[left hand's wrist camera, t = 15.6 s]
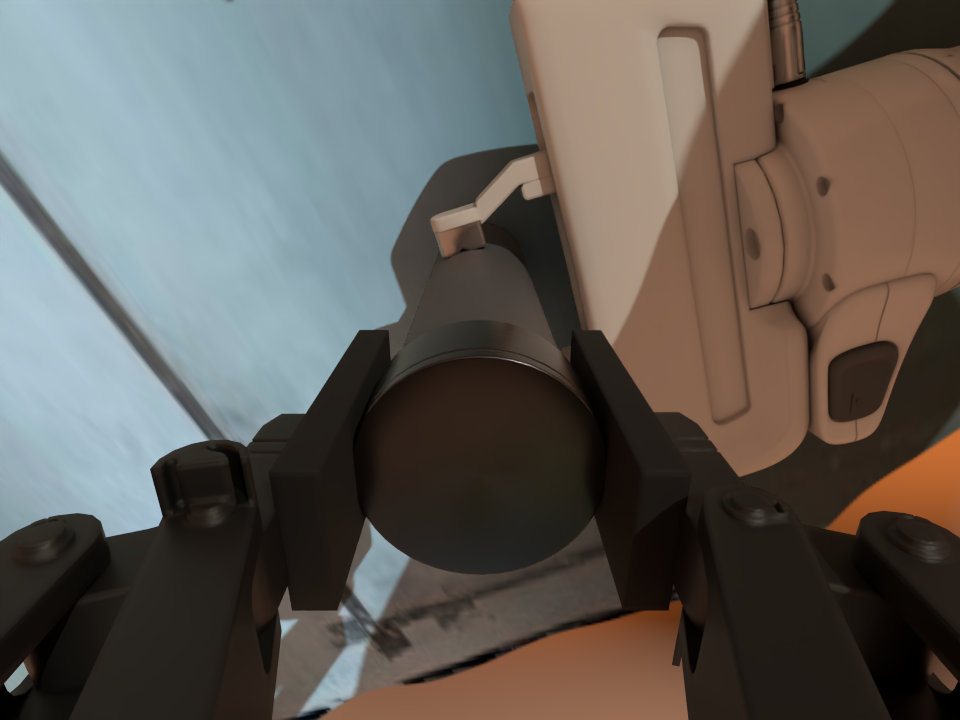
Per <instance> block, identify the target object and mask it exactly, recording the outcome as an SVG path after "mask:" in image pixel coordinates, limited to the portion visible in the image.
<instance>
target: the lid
mask: <svg viewBox="0 0 960 720" xmlns="http://www.w3.org/2000/svg"><path fill="white" fill-rule="evenodd" d="M353 460H354V470H355V479H356V489H357V497H358V500H359V503H360V505H361V507H362V509H363V511H364V513H365V515H366V516H367V518H368V519H369V521H370V522H371V523H372V525H373V526H374V528H375V529H376V530H377V531H378V532H379V533H380V534H381V535H382V536H383V537H384V538H385V539H386V540H387V541H388V542H389V543H391V544H392V545H393V546H394V547H395V548H397V549H398V550H400V551H401V552H403V553H404V554H406V555H408V556H409V557H411V558H413V559H415V560H417V561H419V562H421V563H424V564H426V565H429V566H432V567H435V568H438V569H442V570H446V571H450V572H456V573H463V574H479V575H484V574H498V573H504V572H510V571H515V570H518V569H522V568H525V567H528V566H531V565H533V564H536V563H538V562H541V561H543V560H545V559H547V558H548V557H550V556H552V555H554V554H556V553H557V552H559V551H560V550H561V549H563V548H564V547H566V546H567V545H568V544H569V543H570V542H572V541H573V540H574V539H575V538H576V537H577V536H578V535H579V534H580V533H581V532H582V531H583V529H584V528H585V527H586V526H587V525H588V523H589V522H590V520H591V519H592V517H593V516H594V514H595V513H596V510H597V508H598V506H599V504H600V502H601V500H602V497H603V493H604V486H605V477H606V466H607V447H606V442H605V439H604V436H603V433H602V430H601V427H600V425H599V422H598V420H597V418H596V415H595V413H594V410H593V408H592V406H591V403H590V401H589V399H588V396H587V394H586V391H585V389H584V387H583V384H582V382H581V380H580V378H579V376H578V374H577V372H576V370H575V369H574V368H573V366H572V365H571V363H570V362H569V360H568V359H567V358H566V357H565V356H564V355H563V354H562V353H561V352H560V351H559V350H558V349H557V348H556V347H555V346H553V345H552V344H551V343H550V342H549V341H547V340H545V339H544V338H542V337H541V336H539V335H537V334H536V333H534V332H531V331H529V330H527V329H525V328H522V327H519V326H516V325H513V324H509V323H505V322H499V321H493V320H469V321H460V322H455V323H451V324H446V325H444V326H441V327H438V328H435V329H432V330H430V331H428V332H426V333H424V334H422V335H420V336H419V337H417V338H416V339H414V340H413V341H411V342H410V343H409V344H407V345H406V346H405V347H404V348H403V349H402V350H401V351H400V352H398V353H397V354H396V356H395V357H394V358H393V359H392V360H391V362H390V363H389V364H388V366H387V367H386V369H385V370H384V372H383V374H382V375H381V378H380V380H379V382H378V384H377V387H376V389H375V391H374V394H373V396H372V398H371V401H370V403H369V405H368V408H367V410H366V412H365V415H364V417H363V419H362V422H361V424H360V426H359V429H358V431H357V434H356V437H355V441H354V445H353Z"/></svg>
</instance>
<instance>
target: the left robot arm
mask: <svg viewBox="0 0 960 720" xmlns="http://www.w3.org/2000/svg"><path fill="white" fill-rule="evenodd" d="M390 362H391V360H390V345H389V330H359V332H358V333H357V335H356V336H355V338H354V340H353V341H352V343H351V344H350V346H349V347H348V349H347V350H346V352H345V354H344V355H343V357H342V358H341V360H340V361H339V363H338V364H337V366H336V368H335V369H334V371H333V372H332V374H331V375H330V377H329V378H328V380H327V382H326V383H325V385H324V386H323V388H322V389H321V391H320V392H319V394H318V396H317V397H316V399H315V400H314V402H313V403H312V405H311V406H310V408H309V410H308V411H307V413H306V414H281V415H279V416H278V417H276V418H274V419H273V420H271V421H270V422H268V423H266V424H265V425H263V426H262V428H261V429H260V430H259V432H258V433H257V434H256V435H255V437H254V438H253V439H252V440H253V441H252V442H250V443H249V445H248V446H247V447H245V446H244V445H243V444H241V443H239V442H234V441H230V440H209V441H204V442H199V443H194V444H190V445H187V446H185V447H182V448H179V449H177V450H174V451H172V452H171V453H169V454H167V455H166V456H164V457H162V458H160V459H159V460H158V461H157V462H156V463H155V464H154V465H153V467H152V468H151V469H150V471H151V474H152V478H153V482H154V486H155V489H156V493H157V497H158V500H159V504H160V508H161V512H162V515H163V517H162V520H161V522H160V524H159V526H158V527H154V528H150V529H146V530H141V531H136V532H131V533H126V534H121V535H116V536H111V537H106V536H105V533H104V530H103V527H102V524H101V521H99V520H98V519H97V518H95V517H94V516H93V515H87V514H80V513H75V514H67V515H57V516H53V517H49V518H48V519H46V518H45V519H42V520H39V521H36V522H34V523H32V524H31V525H28V526H26V527H24V528H22V529H20V530H18V531H15V532H14V533H12V534H11V535H9V536H8V537H6V538H5V539H3V540H2V541H0V720H272V712H273V703H274V694H275V685H276V676H277V667H278V658H279V649H280V640H281V631H282V630H281V624H280V618H279V612H278V607H279V605H280V602H281V600H282V598H283V595H284V593H285V591H286V588H287V586H288V590H289V595H290V601H291V607H292V610H338V607H339V603H340V600H341V597H342V593H343V590H344V587H345V584H346V580H347V577H348V574H349V570H350V567H351V564H352V561H353V557H354V554H355V551H356V547H357V544H358V541H359V538H360V534H361V531H362V528H363V525H364V521H365V518H366V515H365V513H364V511H363V509H362V507H361V505H360V503H359V500H358V497H357V489H356V479H355V470H354V460H353V445H354V441H355V437H356V434H357V431H358V429H359V426H360V424H361V422H362V419H363V417H364V415H365V412H366V410H367V408H368V405H369V403H370V401H371V398H372V396H373V394H374V391H375V389H376V387H377V384H378V382H379V380H380V378H381V375H382V374H383V372H384V370H385V369H386V367H387V366H388V364H389V363H390ZM570 363H571V365H572V366H573V368H574V369H575V370H576V372H577V374H578V376H579V378H580V380H581V382H582V384H583V387H584V389H585V391H586V394H587V396H588V399H589V401H590V403H591V406H592V408H593V410H594V413H595V415H596V418H597V420H598V422H599V425H600V427H601V430H602V433H603V436H604V439H605V442H606V447H607V466H606V477H605V486H604V493H603V497H602V500H601V502H600V504H599V506H598V508H597V510H596V513H595V514H594V516H595V519H596V523H597V526H598V529H599V532H600V536H601V539H602V542H603V546H604V549H605V552H606V555H607V559H608V562H609V565H610V569H611V572H612V575H613V578H614V582H615V585H616V588H617V592H618V595H619V598H620V601H621V605H622V608H623V610H669V604H670V599H671V593H672V587H673V584H674V587H675V589H676V591H677V594H678V596H679V598H680V600H681V603H682V605H683V607H682V612H681V618H680V623H679V629H678V634H677V639H676V645H675V650H674V656H673V662H672V665H676V666H679V665H680V660H681V657H682V666H683V675H684V684H685V692H686V702H687V710H688V719H689V720H960V538H959V537H958V536H956V535H955V534H953V533H952V532H950V531H949V530H947V529H945V528H943V527H941V526H938V525H936V524H934V523H932V522H930V521H929V520H927V519H924V518H921V517H918V516H916V517H915V516H913V515H911V514H906V513H898V512H889V511H879V512H873V513H868V514H867V515H866V516H864V517H863V518H862V519H861V520H860V523H859V526H858V530H857V533H856V535H851V534H846V533H841V532H836V531H831V530H826V529H821V528H816V527H812V526H808V525H804V524H801V523H800V521H799V519H798V517H797V515H796V514H795V512H794V511H793V510H792V509H791V507H790V506H789V505H788V504H786V503H785V502H784V501H782V500H781V499H779V498H778V497H776V496H775V495H773V494H770V493H768V492H766V491H763V490H761V489H759V488H755V487H750V486H746V485H745V484H744V483H743V482H742V480H741V479H740V478H739V476H738V475H737V474H736V473H735V471H734V470H733V469H732V467H731V466H730V465H729V463H728V462H727V461H726V460H725V458H724V457H723V456H722V454H721V453H720V452H717V448H716V447H715V445H714V444H713V443H712V441H711V440H709V439H708V436H707V435H706V434H705V432H704V431H703V430H702V429H701V427H700V426H699V425H698V424H697V423H696V422H694V421H692V420H691V419H689V418H688V417H686V416H684V415H683V414H681V413H680V412H653V410H652V409H651V407H650V406H649V404H648V402H647V401H646V399H645V398H644V396H643V395H642V393H641V391H640V390H639V388H638V387H637V385H636V384H635V382H634V381H633V379H632V377H631V376H630V374H629V373H628V371H627V370H626V368H625V367H624V365H623V363H622V362H621V360H620V359H619V357H618V356H617V354H616V353H615V351H614V349H613V348H612V346H611V345H610V343H609V342H608V340H607V339H606V337H605V335H604V334H603V332H602V331H601V330H572V339H571V354H570ZM938 659H939V660H940V661H941V662H942V663H943V664H944V665H945V667H946V668H947V669H948V670H949V671H950V672H951V673H952V674H953V676H954V677H955V678H956V679H957V680H958V683H957V685H956V687H955V689H954V690H953V691H951V690H949V689H948V688H947V687H946V686H945V685H944V684H943V683H942V682H941V681H940V680H939V679H938V677H937V676H936V675H935V674H934V673H933V671H934V668H935V666H936V664H937V661H938ZM22 662H24V664H25V666H26V669H27V671H28V673H29V674H28V675H27V677H26V678H25V679H24V680H23V681H22V682H21V684H20V685H19V686H18V687H16V688H15V689H14V690H13V691H12V692H10V693H9V692H8V691H7V689H6V687H5V685H4V683H5V682H6V681H7V679H8V678H9V677H10V676H11V675H12V674H13V673H14V671H15V670H16V669H17V668H18V667H19V666H20V665H21V663H22Z"/></svg>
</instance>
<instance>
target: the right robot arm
mask: <svg viewBox="0 0 960 720" xmlns="http://www.w3.org/2000/svg"><path fill="white" fill-rule="evenodd" d="M796 1H797V0H513V2H512V5H511V9H510V27H511V31H512V36H513V40H514V44H515V48H516V53H517V57H518V61H519V65H520V70H521V74H522V78H523V82H524V87H525V91H526V95H527V99H528V104H529V108H530V112H531V116H532V121H533V125H534V129H535V133H536V138H537V142H538V146H539V150H540V151H539V152H536V153H533V154H530V155H526V156H523V157H520V158H517V159H514V160H511V161H510V162H509V163H508V164H507V165H506V166H505V167H504V168H503V169H502V170H501V171H500V173H499V174H498V175H497V176H496V177H495V178H494V179H493V180H492V181H491V182H490V184H489V185H488V186H487V187H486V188H485V189H484V190H483V191H482V192H481V193H480V194H479V196H478V197H477V198H476V200H475V203H471V204H468V205H465V206H462V207H458V208H455V209H452V210H448V211H445V212H442V213H440V214H437V215H435V216H433V217H432V218H431V219H430V222H431V226H432V229H433V232H434V235H435V238H436V241H437V244H438V247H439V250H440V253H441V255H442V257H444V258H445V257H450V256H454V255H456V254H459V252H460V251H461V250H462V249H465V250H468V251H470V250H474V249H478V248H481V247H484V246H486V237H485V233H484V229H483V225H482V224H483V223H484V222H485V221H486V220H487V218H488V217H489V216H490V215H491V214H492V213H493V212H494V211H495V210H496V209H497V208H498V207H499V206H500V205H501V204H502V203H503V202H504V201H505V200H506V199H507V197H508V196H509V195H510V194H511V193H512V192H513V191H514V190H515V189H516V188H517V187H518V188H519V192H520V194H521V195H522V196H523V198H524V199H526V200H530V199H534V198H537V197H541V196H544V195H548V194H550V197H551V202H552V206H553V210H554V214H555V219H556V223H557V227H558V231H559V236H560V240H561V244H562V248H563V253H564V257H565V261H566V265H567V270H568V274H569V278H570V282H571V287H572V291H573V295H574V299H575V304H576V308H577V312H578V316H579V321H580V325H581V329H582V330H601V331H602V332H603V334H604V335H605V337H606V339H607V340H608V342H609V343H610V345H611V346H612V348H613V349H614V351H615V353H616V354H617V356H618V357H619V359H620V360H621V362H622V363H623V365H624V367H625V368H626V370H627V371H628V373H629V374H630V376H631V377H632V379H633V381H634V382H635V384H636V385H637V387H638V388H639V390H640V391H641V393H642V395H643V396H644V398H645V399H646V401H647V402H648V404H649V406H650V407H651V409H652V410H653V412H680V413H681V414H683V415H684V416H686V417H688V418H689V419H691V420H692V421H694V422H696V423H697V424H698V425H699V426H700V427H701V429H702V430H703V431H704V432H705V434H706V435H707V436H708V439H709V440H711V441H712V443H713V444H714V445H715V447H716V448H717V452H720V453H721V454H722V456H723V457H724V458H725V460H726V461H727V462H728V463H729V465H730V466H731V467H732V469H733V470H734V471H735V473H736V474H737V475H738V476H739V477H741V476H744V475H747V474H750V473H754V472H756V471H759V470H762V469H765V468H767V467H770V466H772V465H774V464H776V463H778V462H780V461H781V460H783V459H784V458H786V457H787V456H789V455H790V454H791V453H793V452H794V451H795V450H796V449H797V447H798V446H799V445H800V444H801V442H802V441H803V439H804V437H805V435H806V433H807V430H808V431H810V432H811V433H813V434H814V435H816V436H817V437H818V438H820V439H821V440H823V441H825V442H826V443H828V444H835V445H836V444H845V443H850V442H855V441H858V440H861V439H864V438H866V437H868V436H869V435H871V434H872V433H873V432H874V431H875V430H876V429H877V427H878V425H879V424H880V422H881V419H882V417H883V414H884V411H885V408H886V406H887V403H888V400H889V397H890V394H891V391H892V388H893V385H894V383H895V380H896V377H897V375H898V372H899V369H900V367H901V364H902V362H903V359H904V357H905V355H906V352H907V350H908V348H909V346H910V343H911V341H912V339H913V337H914V335H915V333H916V331H917V329H918V327H919V325H920V324H921V322H922V320H923V318H924V316H925V315H926V313H927V311H928V309H929V307H930V305H931V303H932V301H933V298H934V297H936V296H939V295H942V294H944V293H946V292H948V291H950V290H952V289H954V288H957V287H959V286H960V46H956V47H953V48H946V49H937V48H934V49H913V50H908V51H903V52H898V53H893V54H890V55H887V56H884V57H881V58H878V59H875V60H871V61H868V62H865V63H861V64H858V65H855V66H852V67H848V68H845V69H842V70H839V71H835V72H832V73H829V74H826V75H822V76H819V77H815V78H812V79H806V75H805V59H804V44H803V31H802V23H801V21H800V20H799V19H800V12H798V10H799V8H798V3H796ZM772 88H773V89H772ZM560 352H561V353H562V354H563V355H564V356H565V357H566V358H567V359H568V360H569V362H570V354H571V346H567V347H564V348H562V349H561V350H560Z"/></svg>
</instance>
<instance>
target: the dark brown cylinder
mask: <svg viewBox="0 0 960 720" xmlns="http://www.w3.org/2000/svg"><path fill="white" fill-rule="evenodd" d="M482 225H483V229H484V233H485V237H486V246H484V247H481V248H478V249H474V250H470V251H468V250H465V249H462V250H461V251H460V252H459V254H456V255H454V256H450V257H445V258H444V257H442V255H441V253H440V251H439V254H438V256H437V259H436V261H435V264H434V267H433V269H432V272H431V275H430V277H429V280H428V283H427V285H426V288H425V291H424V293H423V296H422V298H421V301H420V304H419V306H418V309H417V312H416V314H415V317H414V320H413V322H412V325H411V328H410V330H409V333H408V336H407V338H406V341H405V343H404V346H403V348H404V347H405V346H406V345H407V344H409V343H410V342H411V341H413V340H414V339H416V338H417V337H419V336H420V335H422V334H424V333H426V332H428V331H430V330H432V329H435V328H438V327H441V326H444V325H446V324H451V323H455V322H460V321H469V320H493V321H499V322H505V323H509V324H513V325H516V326H519V327H522V328H525V329H527V330H529V331H531V332H534V333H536V334H537V335H539V336H541V337H542V338H544V339H545V340H547V341H549V342H550V343H551V344H552V345H553V346H555V347H556V348H557V346H556V344H555V341H554V338H553V336H552V333H551V330H550V328H549V325H548V322H547V320H546V317H545V314H544V312H543V309H542V306H541V304H540V301H539V298H538V296H537V293H536V290H535V288H534V285H533V282H532V280H531V277H530V274H529V272H528V269H527V266H526V264H525V261H524V258H523V256H522V253H521V250H520V248H519V246H518V244H517V242H516V241H515V240H514V238H513V237H512V236H511V235H510V234H509V233H508V232H507V231H505V230H504V229H502V228H500V227H498V226H496V225H493V224H489V223H483V224H482Z"/></svg>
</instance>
